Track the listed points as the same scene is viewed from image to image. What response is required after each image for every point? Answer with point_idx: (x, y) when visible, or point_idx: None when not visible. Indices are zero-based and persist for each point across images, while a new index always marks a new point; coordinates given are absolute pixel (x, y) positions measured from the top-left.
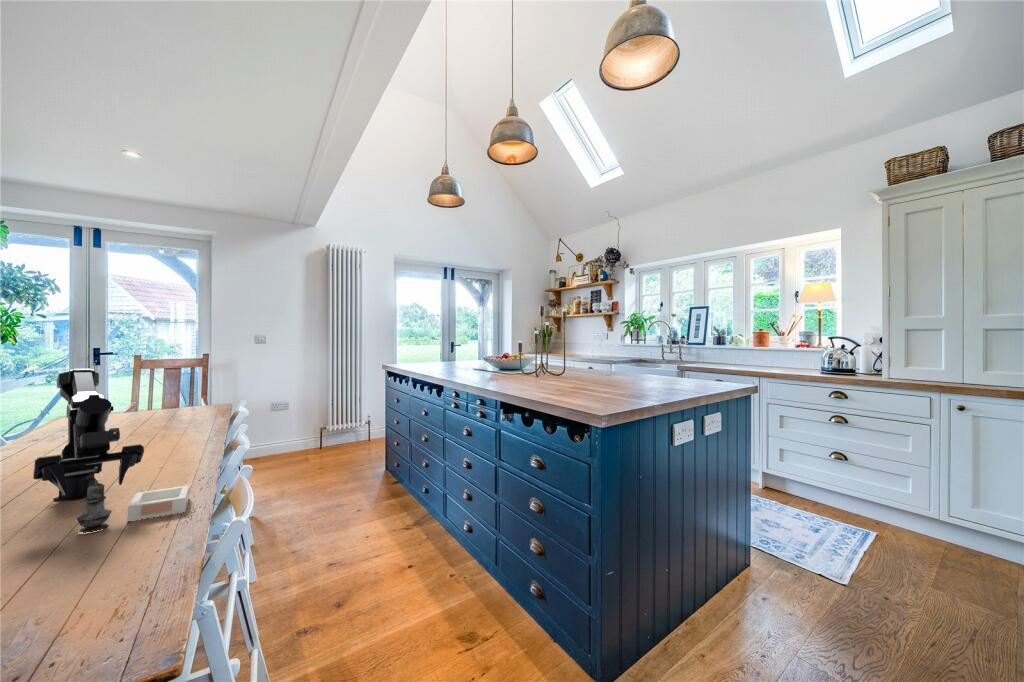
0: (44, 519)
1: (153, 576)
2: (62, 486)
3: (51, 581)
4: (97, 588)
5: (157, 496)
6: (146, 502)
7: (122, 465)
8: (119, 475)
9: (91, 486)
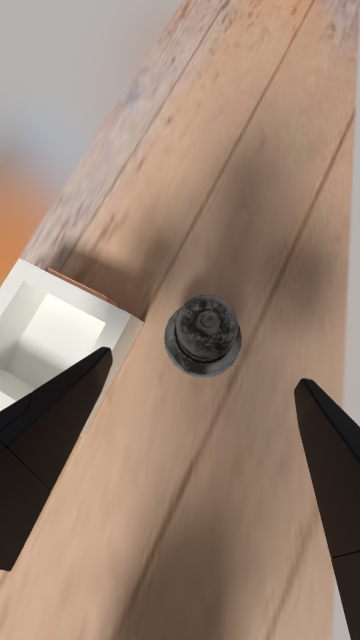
0: (258, 567)
1: (207, 43)
2: (344, 412)
3: (305, 133)
4: (265, 63)
5: None
6: (89, 306)
7: (14, 429)
8: (80, 404)
9: (228, 314)
